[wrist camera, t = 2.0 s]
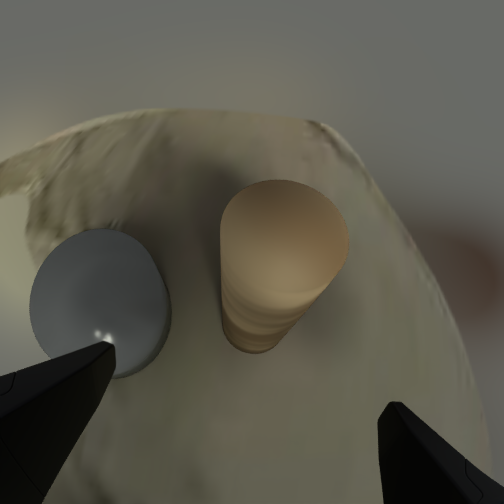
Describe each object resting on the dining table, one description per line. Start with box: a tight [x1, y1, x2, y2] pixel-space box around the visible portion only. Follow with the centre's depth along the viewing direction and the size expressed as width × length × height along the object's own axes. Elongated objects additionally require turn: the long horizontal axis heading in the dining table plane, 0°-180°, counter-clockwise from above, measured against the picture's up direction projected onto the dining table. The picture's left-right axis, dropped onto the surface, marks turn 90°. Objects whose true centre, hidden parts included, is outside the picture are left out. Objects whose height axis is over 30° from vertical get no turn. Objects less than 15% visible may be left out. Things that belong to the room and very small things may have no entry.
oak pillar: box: [220, 180, 349, 354], centre depth 16 cm, size 4×4×12 cm
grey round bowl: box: [30, 229, 172, 379], centre depth 18 cm, size 10×10×4 cm
